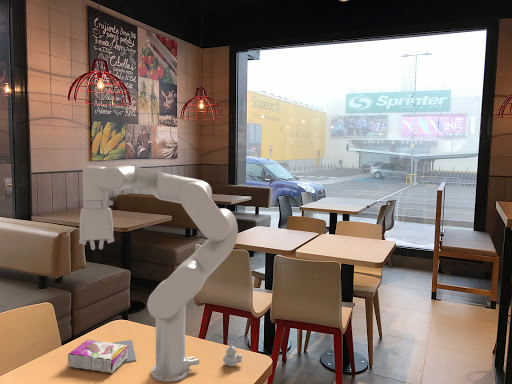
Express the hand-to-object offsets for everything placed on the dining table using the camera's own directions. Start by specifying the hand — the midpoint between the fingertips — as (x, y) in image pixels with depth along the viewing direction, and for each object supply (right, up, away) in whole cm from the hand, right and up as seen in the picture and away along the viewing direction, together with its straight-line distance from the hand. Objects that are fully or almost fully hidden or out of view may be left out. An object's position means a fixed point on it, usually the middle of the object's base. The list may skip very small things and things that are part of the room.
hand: (97, 260), depth 139 cm
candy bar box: (-10, -33, +8) cm, 36 cm away
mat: (-1, -36, +14) cm, 38 cm away
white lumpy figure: (+44, -38, +8) cm, 58 cm away
